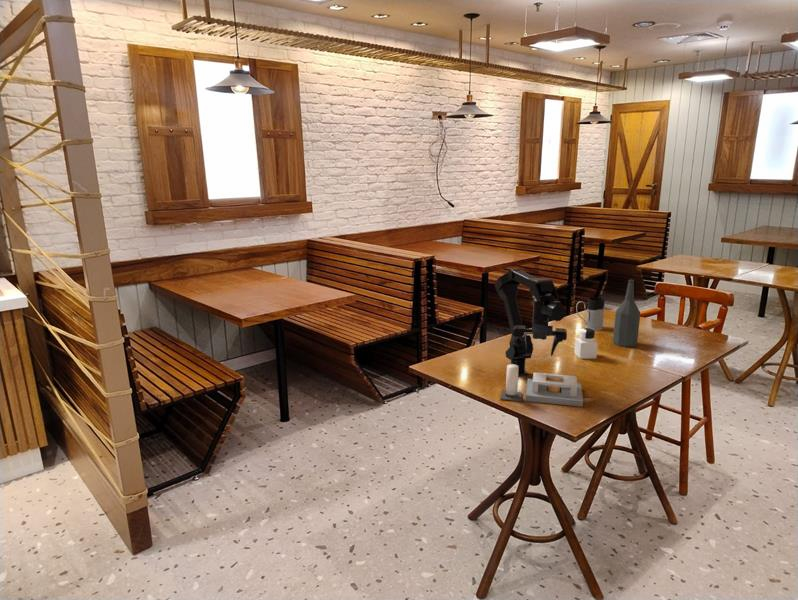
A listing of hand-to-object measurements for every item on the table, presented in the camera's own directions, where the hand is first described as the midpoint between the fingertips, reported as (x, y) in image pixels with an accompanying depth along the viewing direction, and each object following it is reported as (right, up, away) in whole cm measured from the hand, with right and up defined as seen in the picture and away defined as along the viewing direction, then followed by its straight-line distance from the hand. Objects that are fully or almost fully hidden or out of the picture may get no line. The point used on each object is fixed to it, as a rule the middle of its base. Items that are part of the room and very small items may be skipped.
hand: (538, 354), depth 201 cm
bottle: (+52, 0, +49) cm, 71 cm away
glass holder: (+44, +6, +73) cm, 86 cm away
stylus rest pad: (-12, -14, -7) cm, 20 cm away
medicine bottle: (+29, -4, +34) cm, 44 cm away
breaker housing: (+4, -14, -5) cm, 15 cm away
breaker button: (+4, -13, -5) cm, 15 cm away
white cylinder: (-12, -14, -7) cm, 19 cm away
